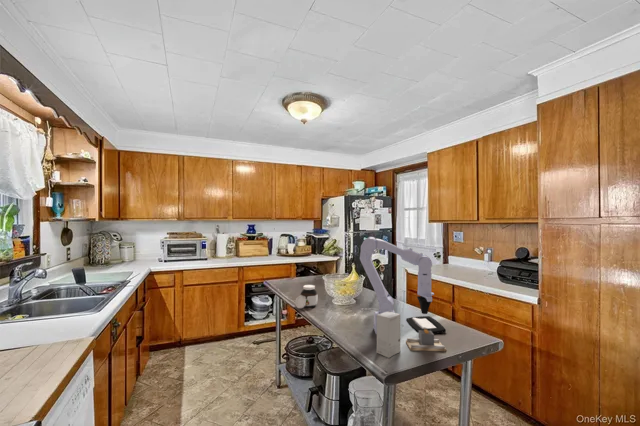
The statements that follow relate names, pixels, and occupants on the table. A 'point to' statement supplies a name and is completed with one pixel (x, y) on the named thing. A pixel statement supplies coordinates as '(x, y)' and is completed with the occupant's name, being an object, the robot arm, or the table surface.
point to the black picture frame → (425, 324)
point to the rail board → (415, 345)
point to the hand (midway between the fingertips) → (424, 313)
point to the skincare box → (388, 334)
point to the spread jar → (307, 297)
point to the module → (426, 337)
